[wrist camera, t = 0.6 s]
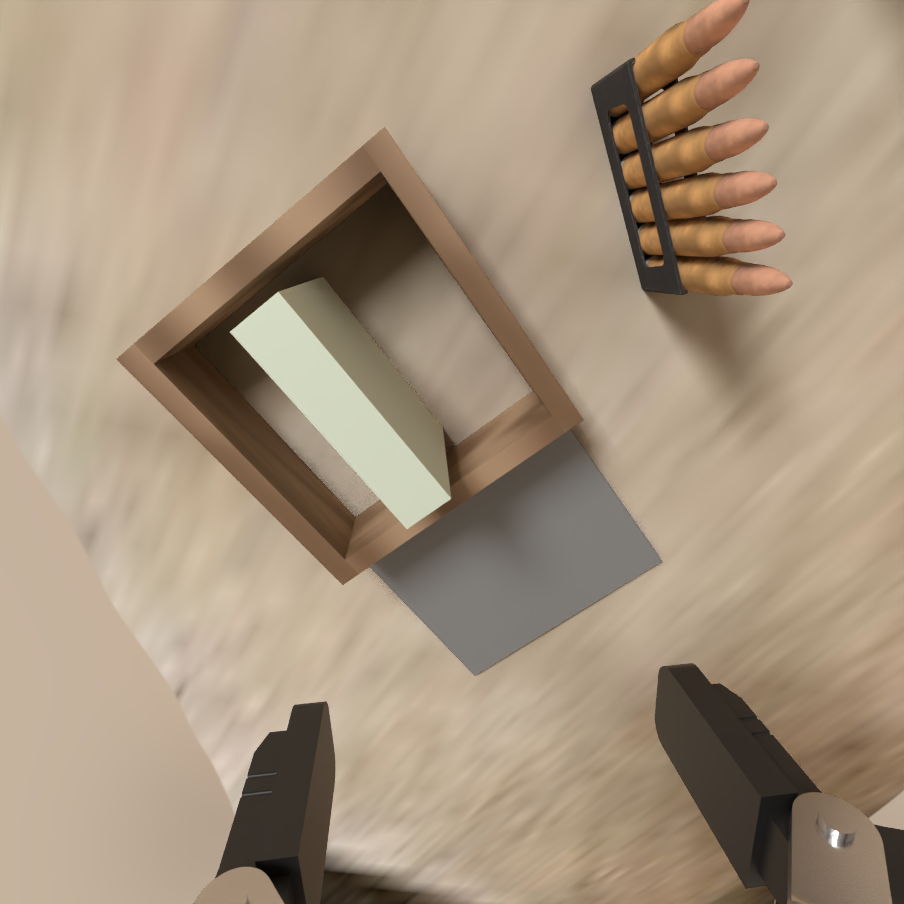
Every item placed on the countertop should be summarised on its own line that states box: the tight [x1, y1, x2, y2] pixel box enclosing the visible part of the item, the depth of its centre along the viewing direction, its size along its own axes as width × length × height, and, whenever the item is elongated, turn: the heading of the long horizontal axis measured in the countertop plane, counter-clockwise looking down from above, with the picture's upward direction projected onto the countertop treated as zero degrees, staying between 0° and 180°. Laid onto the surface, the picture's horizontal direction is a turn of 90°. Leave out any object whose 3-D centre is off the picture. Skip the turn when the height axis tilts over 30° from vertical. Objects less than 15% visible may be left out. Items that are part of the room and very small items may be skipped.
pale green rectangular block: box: [230, 277, 451, 529], centre depth 27 cm, size 2×11×10 cm, turn 36°
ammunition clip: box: [591, 0, 792, 296], centre depth 23 cm, size 11×2×12 cm, turn 22°
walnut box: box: [117, 127, 583, 585], centre depth 29 cm, size 16×16×5 cm
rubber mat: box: [370, 429, 662, 676], centre depth 37 cm, size 16×13×1 cm
